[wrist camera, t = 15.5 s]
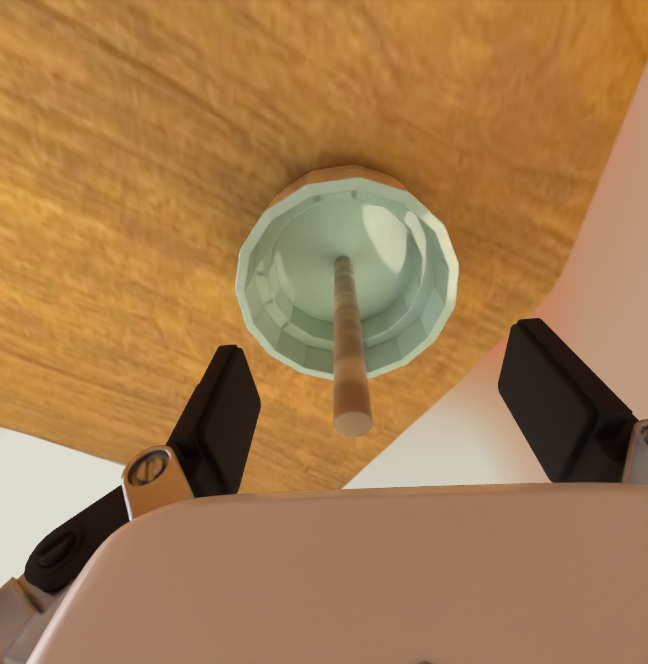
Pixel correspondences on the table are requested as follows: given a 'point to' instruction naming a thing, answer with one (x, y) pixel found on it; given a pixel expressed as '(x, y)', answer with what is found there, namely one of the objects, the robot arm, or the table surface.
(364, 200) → the bowl
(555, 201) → the table surface
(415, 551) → the robot arm
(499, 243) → the table surface
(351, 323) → the stick
